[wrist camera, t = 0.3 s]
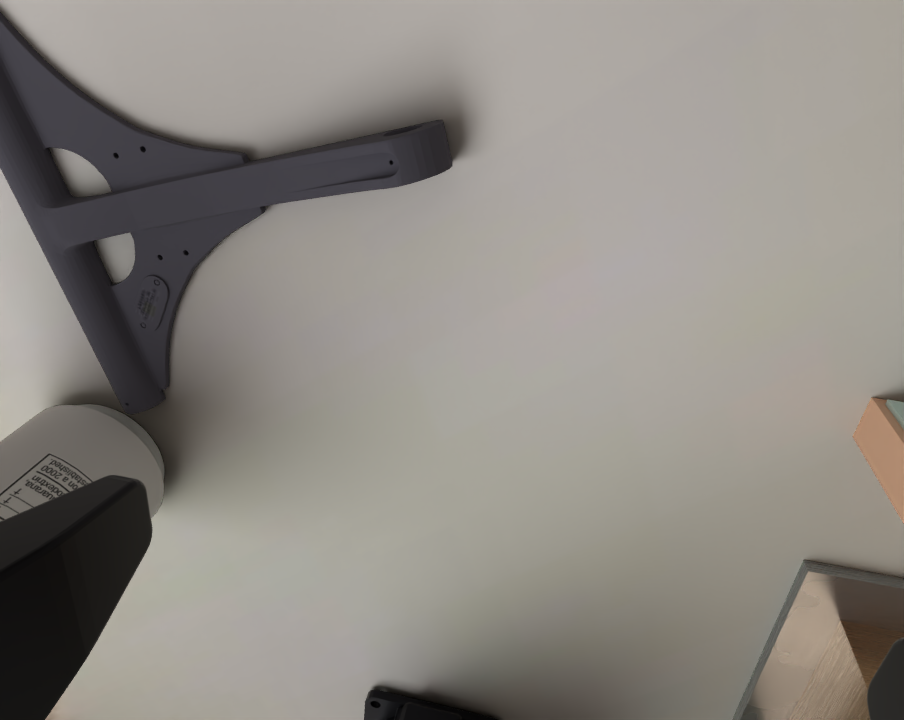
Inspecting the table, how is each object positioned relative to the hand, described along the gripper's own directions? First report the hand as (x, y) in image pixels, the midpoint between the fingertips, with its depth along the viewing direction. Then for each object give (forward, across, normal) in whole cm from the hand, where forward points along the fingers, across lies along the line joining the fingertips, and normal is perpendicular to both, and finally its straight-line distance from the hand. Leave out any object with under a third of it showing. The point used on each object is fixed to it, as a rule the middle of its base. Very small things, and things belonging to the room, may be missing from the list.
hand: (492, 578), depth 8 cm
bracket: (+15, +10, 0) cm, 18 cm away
